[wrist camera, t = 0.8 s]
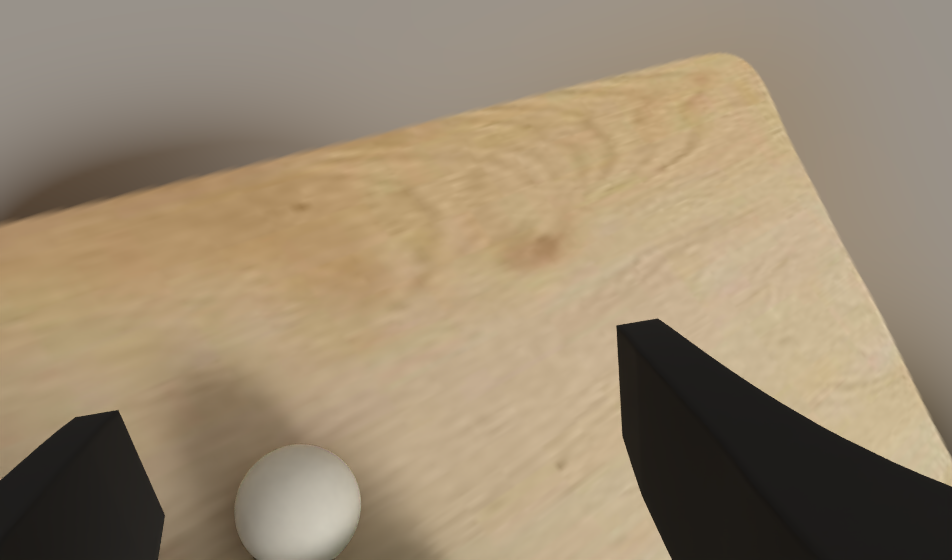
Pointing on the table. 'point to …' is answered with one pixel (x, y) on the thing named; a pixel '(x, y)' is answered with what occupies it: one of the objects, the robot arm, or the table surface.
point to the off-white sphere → (297, 505)
